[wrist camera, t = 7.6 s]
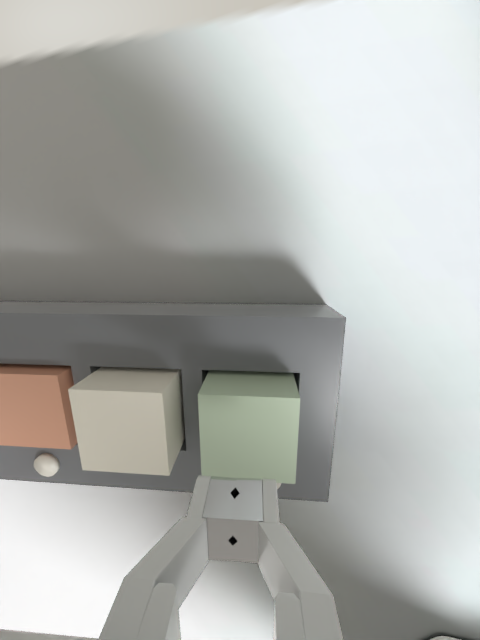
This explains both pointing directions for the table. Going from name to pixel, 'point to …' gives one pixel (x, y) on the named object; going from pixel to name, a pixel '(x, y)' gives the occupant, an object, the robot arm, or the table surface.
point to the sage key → (249, 425)
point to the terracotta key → (36, 406)
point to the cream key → (129, 419)
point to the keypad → (194, 361)
